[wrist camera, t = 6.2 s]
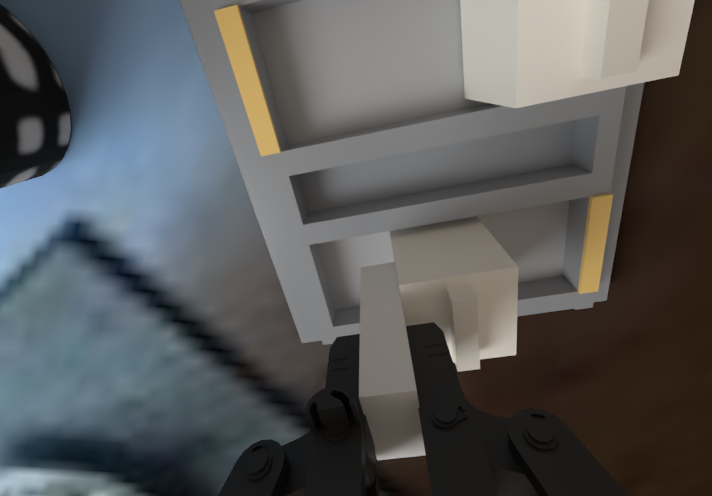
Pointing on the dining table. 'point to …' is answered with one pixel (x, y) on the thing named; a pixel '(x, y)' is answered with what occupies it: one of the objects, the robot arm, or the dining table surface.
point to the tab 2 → (568, 47)
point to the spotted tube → (29, 106)
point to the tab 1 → (459, 287)
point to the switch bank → (405, 151)
